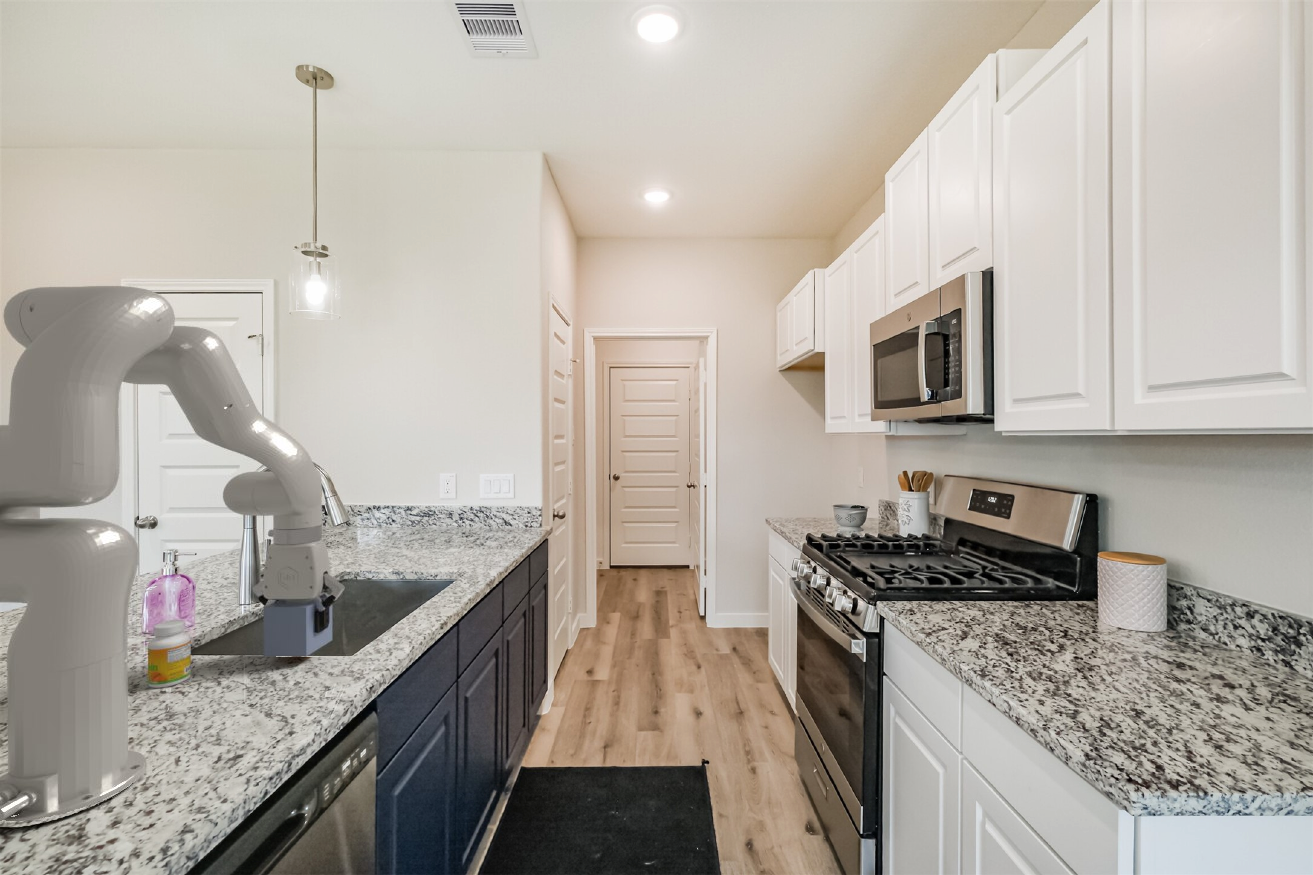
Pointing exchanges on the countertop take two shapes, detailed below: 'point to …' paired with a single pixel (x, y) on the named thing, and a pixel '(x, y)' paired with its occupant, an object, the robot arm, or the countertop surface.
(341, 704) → the countertop surface
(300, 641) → the slate blue rectangular box
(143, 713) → the countertop surface
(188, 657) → the supplement bottle
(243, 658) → the countertop surface
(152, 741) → the countertop surface
